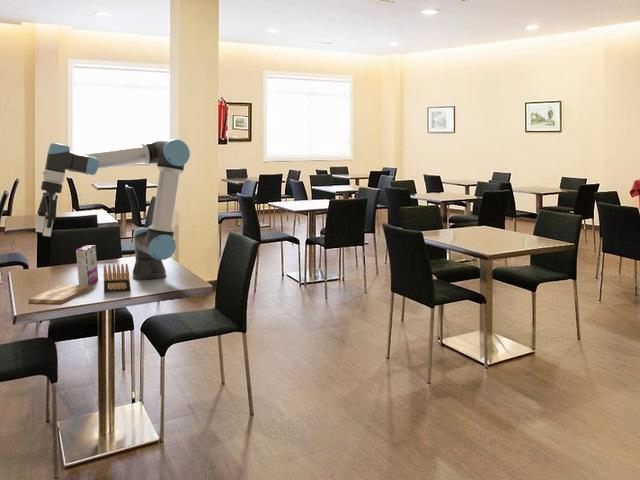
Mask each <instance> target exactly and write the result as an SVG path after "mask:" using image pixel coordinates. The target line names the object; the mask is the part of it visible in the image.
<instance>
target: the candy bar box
mask: <svg viewBox="0 0 640 480" xmlns="http://www.w3.org/2000/svg"><path fill="white" fill-rule="evenodd" d="M96 247H97V246H96V244H94V245H93V244H92V245H90V244H89V245H84V246H81V247H80V248H77V249H76V250H75V254H76V256H75V257H76V258H75V259H76V267H77V277H78V285H92V284H94V283H97V281H99V271H98V262H97V261H98V259H97V249H96Z"/></svg>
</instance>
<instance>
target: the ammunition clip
mask: <svg viewBox="0 0 640 480" xmlns="http://www.w3.org/2000/svg"><path fill="white" fill-rule="evenodd" d="M107 267H108V268H107ZM130 280H131V279H130V272H129V266H128V263H126V264H125V267H124V264H123V263H122V264H121V266H120V264H119V263H117V265H115V264H114V263H113V264H112V267H111V264H110V263H109V264H108V266H106V264H104V265H103V293H123V292H124V293H125V292H127V293H128V292H131V290H132V289H131V281H130Z"/></svg>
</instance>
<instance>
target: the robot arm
mask: <svg viewBox="0 0 640 480" xmlns="http://www.w3.org/2000/svg"><path fill="white" fill-rule="evenodd" d="M70 149H71V148H70V146H69V145H65V144H61V143H56V142H52V143H50V144H49V147H48V151H47V157H46V161H45V167H44V171H42V174H43V177H42V178H43V180H42V181H41V187H40V189H41V190H42V191H45V192H42V197H41V200H40V204H39V207H38V209H37V221H36V225H35V232H36V233H37V232H38V233H41V234H42V236H43V237H50V238H51V235H52V231H53V225H54V221H55V220H56V219H57V205H58V204H57V203H58V198H59V196H58V194H61V193H62V190H63V183H64V181H65V175H66V170H67V171H69V172H72V173H77V174H78V173H81V174H85V175H87V176H88V175H90V176H95V175H96V174H97V172H98V169H106V168H112V167H120V166H121V167H122V166H127V165H134V164H142V163H143V164H145V165H151V164H152V165H153V164H156V167H157V169H158V170H159V175H158V182H157V189H156V195H155V201H154V207H153V209H154V210H153V214H152V215H153V216H152V223H151V225H149V226H147V227H144V228H143V227H141V228H136V229H134V232H133V237H134V251H135V252H134V253H135V254H134V255H135V261H134V262H135V263H134V267H133V269H132V278H133V279H136V280H155V279H161V278H164V277H166V275H167V270H166V267H165V266H164V264H163V263H164V262H163V261H165V260H167V259H170V258H171V257H172V256H173V255H174V254H175V252H176V249H177V244H176V241H175V239H174V238H175V230H174V228H173V226H172V225H173V219H174V213H175V211H174V210H175V206H176V199H177V194H178V193H177V192H178V186H179V180H180V179H179V178H180V175H181V174H182V173H183V172H184V168H185V164H186V163H188V161H189V160H190V157H191V156H190V155H191V153H190V152H191V151H190V149H189V146H188V145H187V144H186V142H184V141H183V140H181V139H177V138H161V139H158V140H153V141H149V142H143V143H142V144H140V145H136V146H135V145H134V146H127V147H123V148H122V147H120V148H112V149H103V150H96V151H89V152H79V153H76V152H73V151H70ZM56 194H57V195H56Z"/></svg>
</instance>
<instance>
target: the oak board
mask: <svg viewBox="0 0 640 480" xmlns="http://www.w3.org/2000/svg"><path fill="white" fill-rule="evenodd" d="M92 289H93V285H92V284H91V285H79V284H60V285H57V286H56V287H53V288H51V289H49V290H46V291H44V292H42V293H39V294H37V295H34V296H32V297H30V298H28V303H30V304H31V303H33V304H60V305H61V304H64V303H67V302H68V301H71V300H73V299H74V297H75V298H77V297H78V296H81V295H83V294H85V293H87V292H89V291H91V290H92ZM72 298H73V299H72Z"/></svg>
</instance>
